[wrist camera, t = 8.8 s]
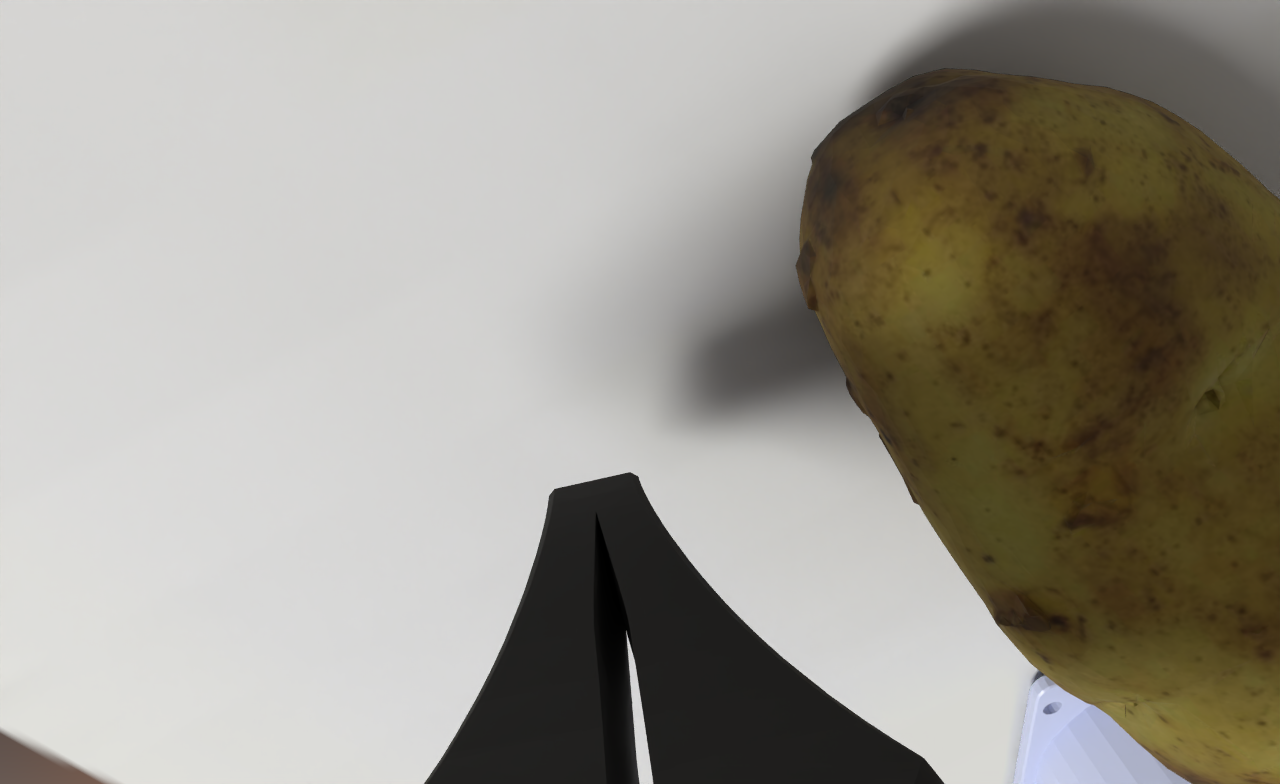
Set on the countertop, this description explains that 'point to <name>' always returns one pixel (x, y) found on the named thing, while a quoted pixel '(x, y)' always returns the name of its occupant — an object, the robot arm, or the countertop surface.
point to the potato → (1075, 385)
